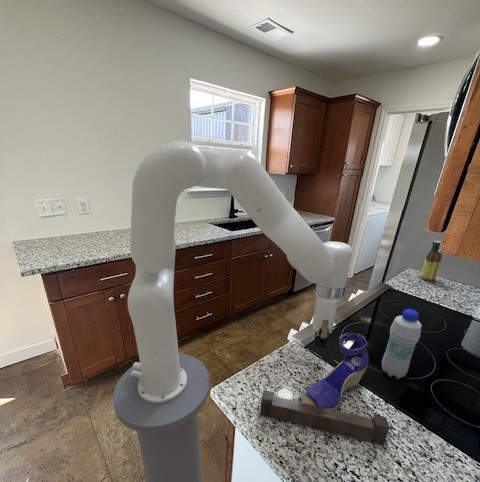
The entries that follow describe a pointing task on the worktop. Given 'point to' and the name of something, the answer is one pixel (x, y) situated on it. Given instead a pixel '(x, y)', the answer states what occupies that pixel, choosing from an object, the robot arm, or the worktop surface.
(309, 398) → the sandal
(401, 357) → the bottle
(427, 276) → the sauce bottle
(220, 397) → the worktop surface
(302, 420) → the rail
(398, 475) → the worktop surface
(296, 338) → the worktop surface
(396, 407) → the worktop surface
